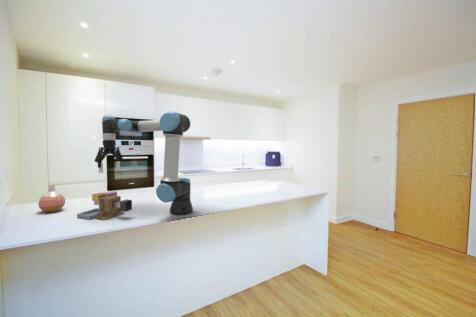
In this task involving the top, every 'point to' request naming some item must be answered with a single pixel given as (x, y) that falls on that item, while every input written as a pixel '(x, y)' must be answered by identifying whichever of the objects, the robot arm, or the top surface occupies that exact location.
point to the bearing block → (108, 207)
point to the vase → (51, 200)
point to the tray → (89, 214)
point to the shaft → (120, 205)
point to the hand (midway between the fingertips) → (109, 171)
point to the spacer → (98, 196)
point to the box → (111, 193)
